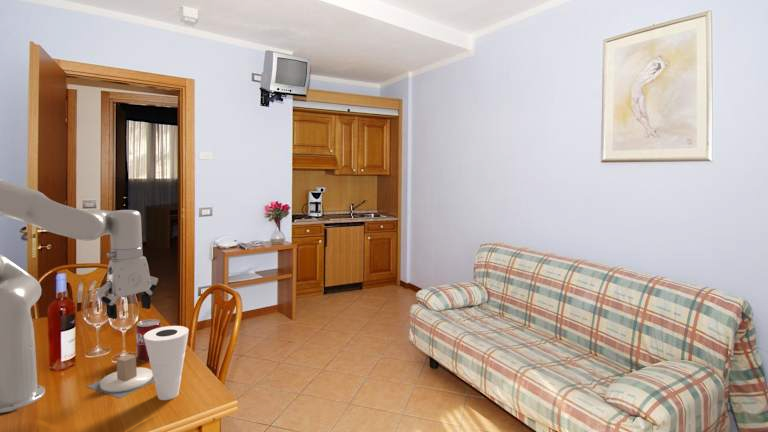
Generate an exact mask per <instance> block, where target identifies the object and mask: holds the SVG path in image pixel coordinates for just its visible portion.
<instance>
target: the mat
mask: <svg viewBox="0 0 768 432" xmlns="http://www.w3.org/2000/svg"><path fill="white" fill-rule="evenodd" d="M137 367H138V366H136V368H137ZM101 380H102V379H101ZM101 380H98V381H95V382H93V383H91V384H89V385H86V388H89V389H92V390H95V391H97V392H100V393H104V394H106V395H108V396H112V397H115V398H118V399H122V398H123V397H125V396H127V395H129V394H132V393H134V392H136V391H139V390H140V389H142V388H143V387H146V386H148V385H150V384H152V383H155V382H154V377H153V378H152V380H151V381H150V382H148V383H147V384H145V385H144V386H141V387H139V388H136V389H133V390H130V391H125V392H116V393H112V392H105V391H103V390H101V389H100V381H101Z"/></svg>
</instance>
